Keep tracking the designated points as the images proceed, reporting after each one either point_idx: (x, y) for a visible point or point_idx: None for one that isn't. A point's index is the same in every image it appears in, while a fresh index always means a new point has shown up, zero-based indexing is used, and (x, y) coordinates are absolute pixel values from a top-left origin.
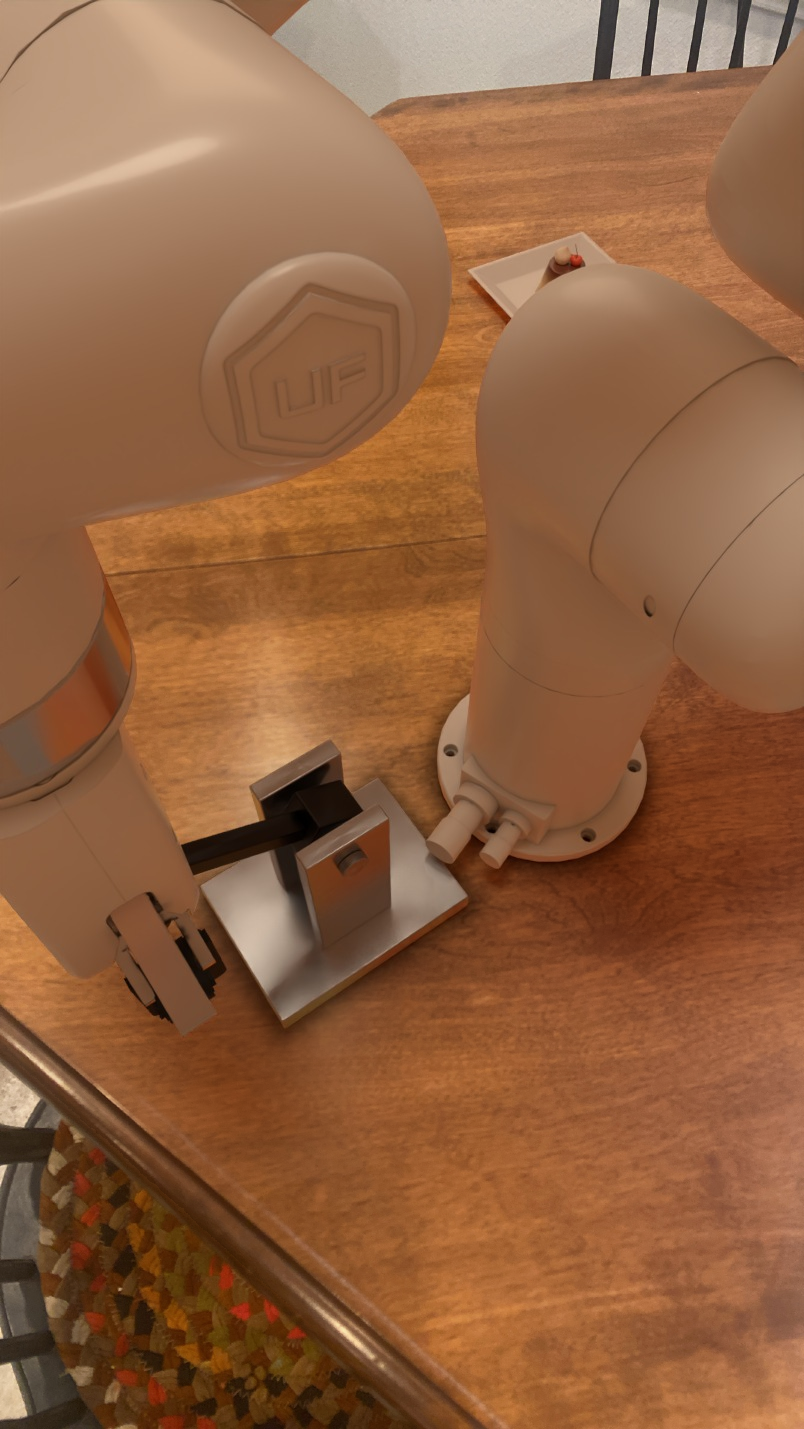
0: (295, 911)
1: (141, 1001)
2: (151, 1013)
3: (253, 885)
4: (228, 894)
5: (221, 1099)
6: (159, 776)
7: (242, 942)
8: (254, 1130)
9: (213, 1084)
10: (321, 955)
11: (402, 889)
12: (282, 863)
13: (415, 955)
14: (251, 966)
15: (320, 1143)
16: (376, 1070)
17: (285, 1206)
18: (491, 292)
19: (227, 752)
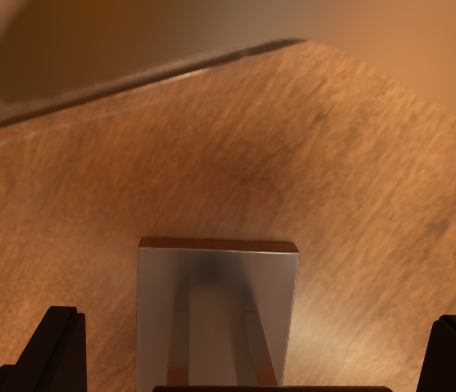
0: (219, 308)
1: (8, 377)
2: (43, 317)
3: (265, 292)
4: (274, 269)
5: (121, 159)
6: (420, 267)
7: (226, 256)
8: (79, 168)
9: (137, 160)
10: (169, 305)
11: None
12: (249, 356)
13: (128, 353)
14: (200, 252)
15: (36, 208)
16: (63, 278)
17: (5, 156)
18: None
19: (394, 326)
